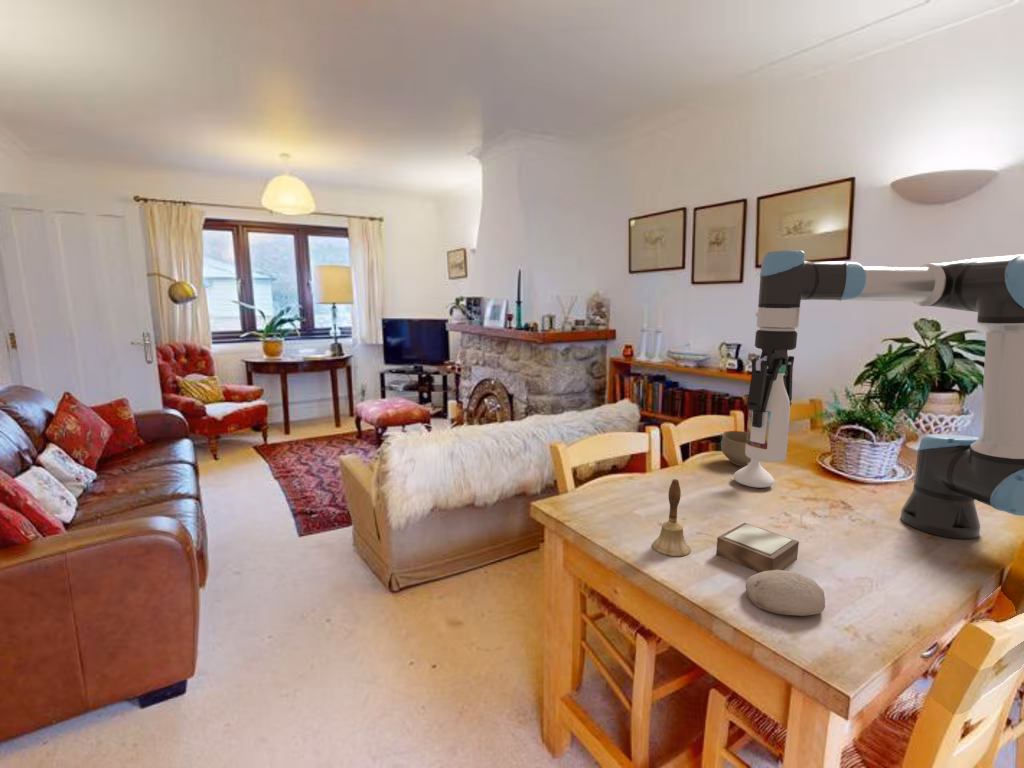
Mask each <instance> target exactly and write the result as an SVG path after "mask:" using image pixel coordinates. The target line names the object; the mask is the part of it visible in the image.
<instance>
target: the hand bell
mask: <svg viewBox="0 0 1024 768" xmlns="http://www.w3.org/2000/svg"><path fill="white" fill-rule="evenodd" d="M679 482H680V481H679V479H677V478H673V479H672V481H671V484H670V486H669V489H668V497H667V498H668V503H669V515H668V520H667V521H665V522H663V523H662V524H661V530H660V534H659V536H658V537H657V538H656V539H654V540H653V541H652V545H651V546H652V547H653V549H654V550H655V551H656V552H657V553H660V554H661V555H664V556H670V557H684V556H688V555H689V554H690V553H691V551H692V549H691V546H690V545H689V544H688V543H687V542H686V541H687V540H686V539H685V535H684V528H683V525H682V524H681V523H679V522H677V520H678V507H679V504H680V502H681V501H680V500H681V497H682V496H681V494H682V493H681V491H682V490H681V486H680V483H679Z"/></svg>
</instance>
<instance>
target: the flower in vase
mask: <svg viewBox="0 0 1024 768" xmlns="http://www.w3.org/2000/svg"><path fill="white" fill-rule="evenodd" d="M760 462H761V461H758V460H754V459H751V461H750V462H749V463H747V464H746V465H744V466H743V467H742V468H740V469H738V470H736V471H735V472H734V474H733V476H732V477H733V479H734V481H735V482H737V483H739V484H740V485H744V486H747V487H752V488H758V489H759V488H761V489H762V488H770V487H772V486H773V485H774V484H775V479H774V477H773V476H772V475H771V474H770V473H769V472H768V471H767V470H766V469H765V468H764V467H762V465H761V463H760Z"/></svg>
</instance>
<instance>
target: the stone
mask: <svg viewBox="0 0 1024 768" xmlns="http://www.w3.org/2000/svg"><path fill="white" fill-rule="evenodd" d="M745 590H746V595H747V596H748V599H749V600H750V601H751V602H752V603H753V605H755V606H756V607H757V608H759V609H762V610H764V611H767V612H770V613H774V614H778V615H784V616H800V617H806V616H812V615H819V614H821V613H823V612H824V610H825V608H826V598H825V597H826V596H825V592H824V589H823V588H822V587H821V586H820V585H819V584H818V583H817V582H816V581H815V580H814V579H813V578H812V577H808V576H805V575H803V574H801V573H797V572H794V571H789V570H785V569H782V570H771V571H763V572H758V573H757V572H756V573H755V574H752V575H751V576H749V577H748V578H747V580H746V581H745Z"/></svg>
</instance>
